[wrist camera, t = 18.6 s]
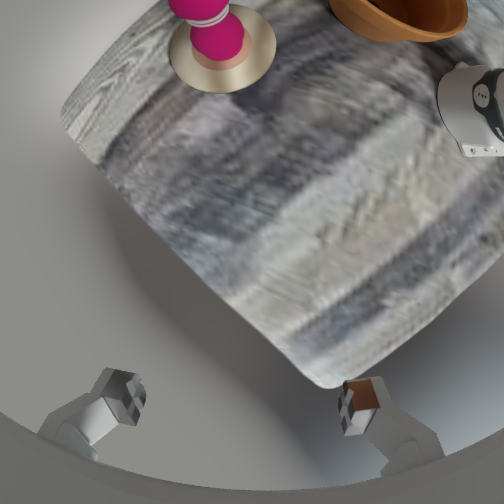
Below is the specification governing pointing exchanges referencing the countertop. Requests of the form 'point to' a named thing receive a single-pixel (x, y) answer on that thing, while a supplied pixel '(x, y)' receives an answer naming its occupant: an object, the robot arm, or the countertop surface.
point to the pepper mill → (211, 27)
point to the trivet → (230, 71)
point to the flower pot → (402, 18)
